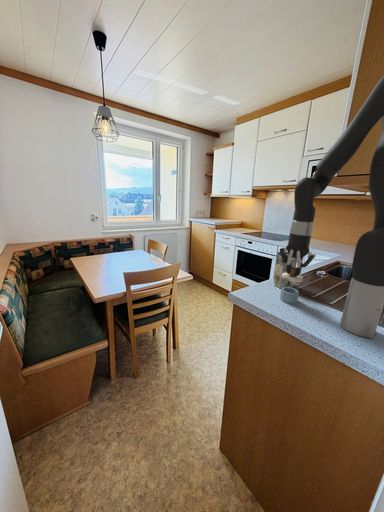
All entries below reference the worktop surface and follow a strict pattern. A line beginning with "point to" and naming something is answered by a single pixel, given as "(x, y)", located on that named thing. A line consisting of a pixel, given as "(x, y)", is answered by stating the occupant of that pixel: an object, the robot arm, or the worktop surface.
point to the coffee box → (282, 271)
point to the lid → (292, 276)
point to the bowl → (289, 295)
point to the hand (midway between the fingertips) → (292, 274)
